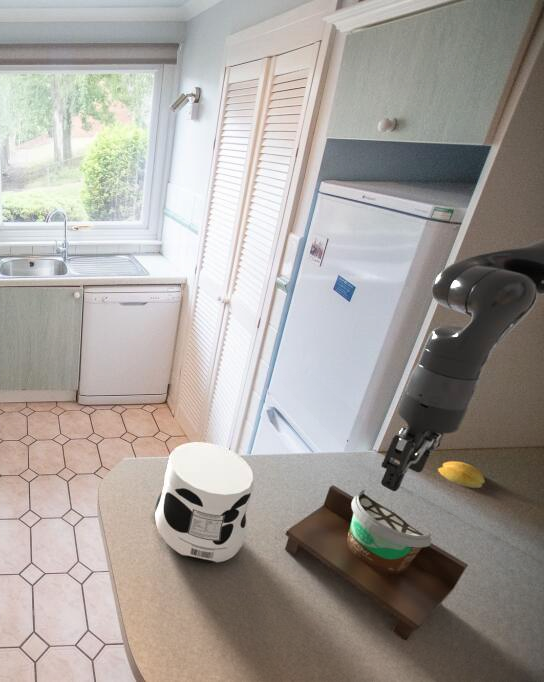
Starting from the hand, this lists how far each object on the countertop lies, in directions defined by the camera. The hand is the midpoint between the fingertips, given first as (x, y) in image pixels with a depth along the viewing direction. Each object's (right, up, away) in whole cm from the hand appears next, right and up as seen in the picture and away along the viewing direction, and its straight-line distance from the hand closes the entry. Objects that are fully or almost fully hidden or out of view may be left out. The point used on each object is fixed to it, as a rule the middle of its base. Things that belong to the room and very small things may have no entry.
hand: (401, 478), depth 75 cm
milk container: (-28, -17, +18) cm, 37 cm away
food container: (0, -17, +8) cm, 19 cm away
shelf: (0, -21, +10) cm, 23 cm away
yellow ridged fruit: (+41, -11, +33) cm, 53 cm away
